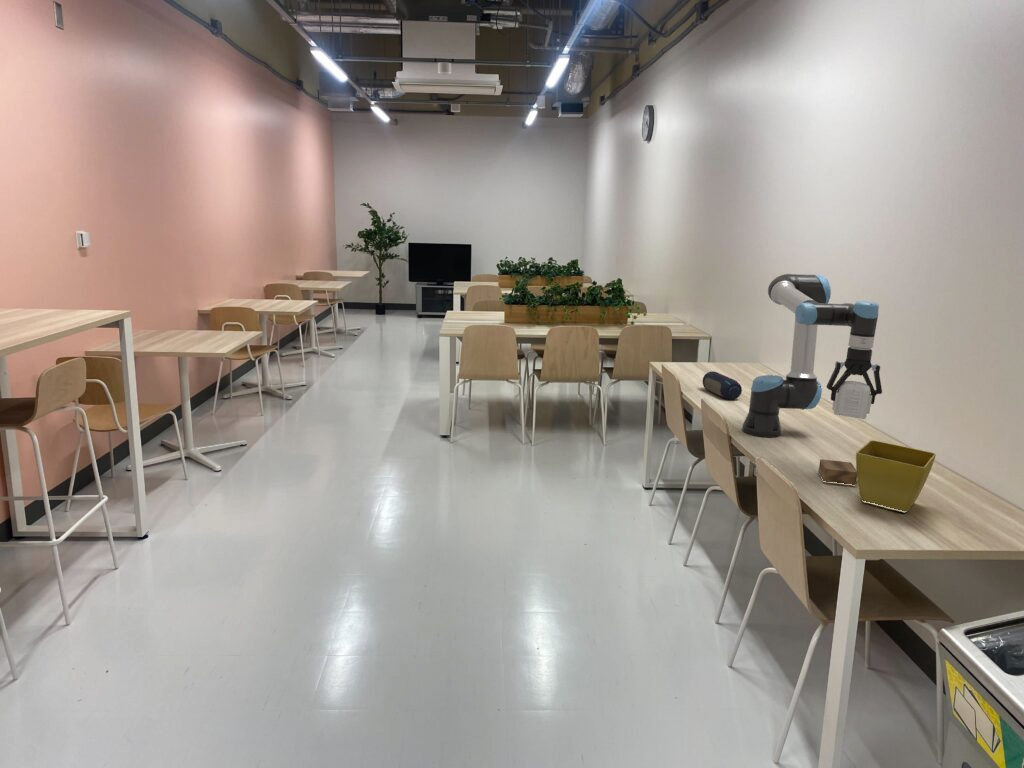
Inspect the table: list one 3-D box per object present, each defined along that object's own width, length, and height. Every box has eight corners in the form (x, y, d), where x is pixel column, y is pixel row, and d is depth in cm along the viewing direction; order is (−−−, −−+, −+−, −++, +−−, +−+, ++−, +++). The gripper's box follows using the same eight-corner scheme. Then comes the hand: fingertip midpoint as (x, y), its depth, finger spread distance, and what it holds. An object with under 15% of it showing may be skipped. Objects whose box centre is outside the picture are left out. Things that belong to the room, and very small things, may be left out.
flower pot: (863, 486, 238) (871, 438, 234) (927, 502, 226) (936, 452, 222) (847, 503, 224) (855, 452, 220) (915, 521, 212) (924, 468, 208)
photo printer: (866, 417, 246) (872, 382, 243) (865, 420, 243) (871, 384, 240) (834, 412, 251) (839, 378, 248) (833, 415, 247) (838, 380, 244)
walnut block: (823, 482, 240) (825, 468, 239) (818, 472, 249) (820, 459, 248) (855, 486, 238) (857, 472, 237) (849, 476, 247) (851, 462, 246)
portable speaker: (698, 389, 364) (700, 369, 361) (715, 388, 366) (717, 369, 364) (724, 402, 340) (726, 381, 338) (743, 401, 343) (745, 381, 340)
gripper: (826, 347, 240) (817, 411, 245) (899, 352, 235) (889, 417, 240) (822, 343, 247) (813, 405, 252) (893, 348, 242) (882, 411, 248)
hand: (850, 411), depth 246 cm, fingers closed on photo printer, 10 cm apart
